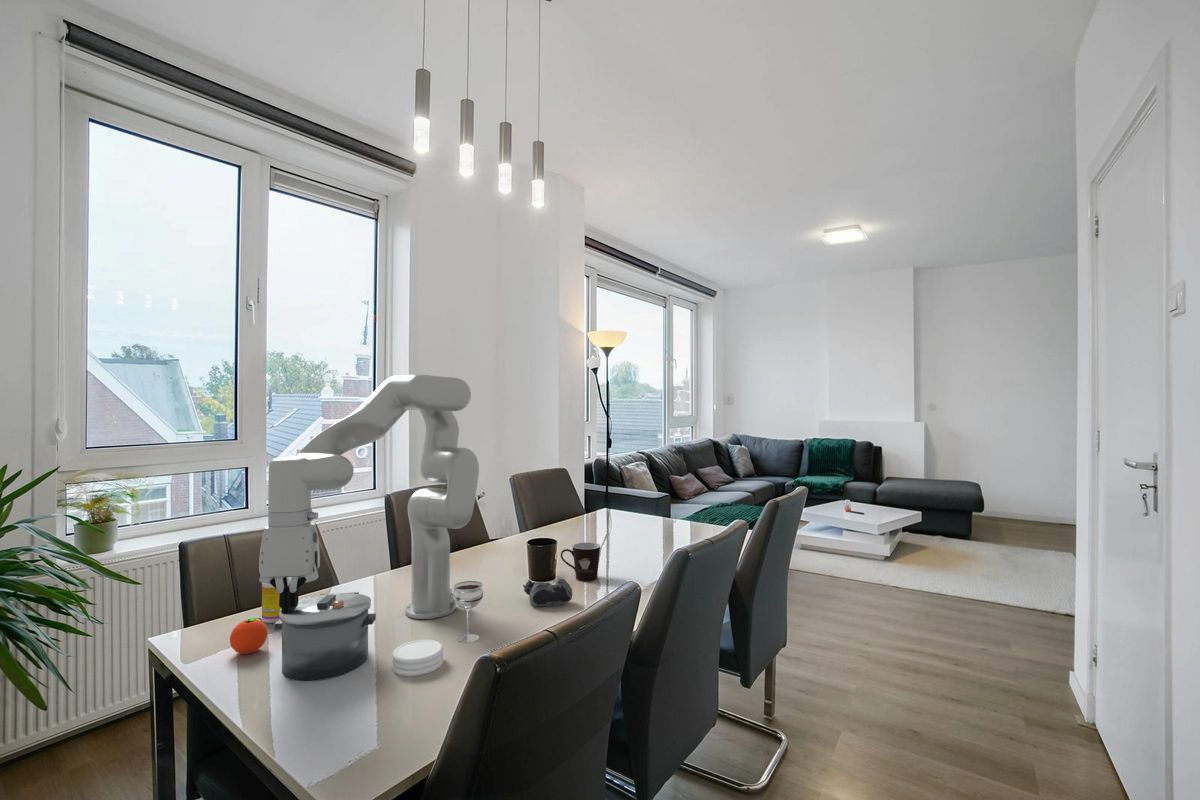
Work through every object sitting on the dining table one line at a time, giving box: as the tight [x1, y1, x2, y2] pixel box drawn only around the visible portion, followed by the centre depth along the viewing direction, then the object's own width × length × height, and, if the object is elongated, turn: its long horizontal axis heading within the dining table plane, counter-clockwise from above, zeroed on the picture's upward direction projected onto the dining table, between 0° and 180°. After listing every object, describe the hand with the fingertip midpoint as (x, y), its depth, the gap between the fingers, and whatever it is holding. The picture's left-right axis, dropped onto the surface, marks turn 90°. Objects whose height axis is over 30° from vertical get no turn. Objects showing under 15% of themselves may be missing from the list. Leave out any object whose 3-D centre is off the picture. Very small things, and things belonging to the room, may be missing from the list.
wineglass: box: [452, 580, 484, 644], centre depth 129 cm, size 7×7×12 cm
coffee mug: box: [560, 541, 601, 583], centre depth 174 cm, size 12×9×10 cm
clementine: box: [229, 617, 268, 655], centre depth 122 cm, size 8×7×7 cm
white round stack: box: [391, 639, 444, 677], centre depth 115 cm, size 10×10×4 cm
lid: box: [279, 591, 372, 625], centre depth 117 cm, size 18×17×2 cm
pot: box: [274, 609, 377, 682], centre depth 117 cm, size 19×16×10 cm
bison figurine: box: [522, 578, 573, 608], centre depth 152 cm, size 12×7×10 cm
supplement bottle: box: [261, 577, 292, 624], centre depth 140 cm, size 7×7×13 cm
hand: (288, 610), depth 113 cm, fingers closed
